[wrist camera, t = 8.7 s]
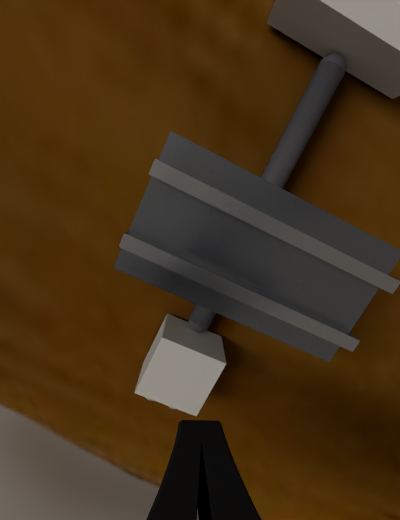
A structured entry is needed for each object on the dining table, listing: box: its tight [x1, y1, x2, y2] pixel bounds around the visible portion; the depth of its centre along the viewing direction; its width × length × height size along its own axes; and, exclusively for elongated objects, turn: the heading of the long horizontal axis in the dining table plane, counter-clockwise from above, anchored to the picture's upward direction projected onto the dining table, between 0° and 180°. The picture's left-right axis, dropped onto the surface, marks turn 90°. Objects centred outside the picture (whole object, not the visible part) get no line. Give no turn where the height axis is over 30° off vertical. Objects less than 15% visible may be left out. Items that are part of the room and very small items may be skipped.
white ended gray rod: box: [135, 0, 400, 416], centre depth 15 cm, size 8×24×3 cm, turn 154°
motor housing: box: [114, 131, 400, 362], centre depth 14 cm, size 11×6×6 cm, turn 64°
